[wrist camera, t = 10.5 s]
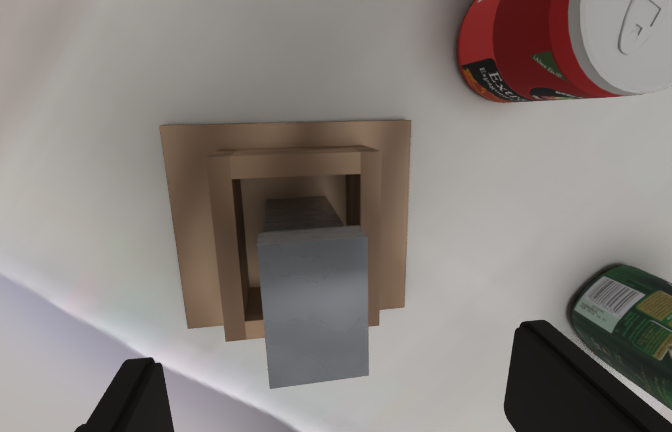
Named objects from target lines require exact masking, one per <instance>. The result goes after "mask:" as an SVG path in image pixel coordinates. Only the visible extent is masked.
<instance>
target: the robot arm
mask: <svg viewBox="0 0 672 432" xmlns="http://www.w3.org/2000/svg"><path fill="white" fill-rule="evenodd" d="M504 411H505V415H506V417H507V419H508V421H509V422H510V424H511V425H512V426H513V428H514V429H515V431H516V432H672V424H671V423H670V422H669V421H668V420H666V419H665V418H664V417H663V416H662V415H660V414H659V413H658V412H657V411H655V410H654V409H653V408H652V407H651V406H649V405H648V404H647V403H646V402H645V401H643V400H642V399H641V398H640V397H638V396H637V395H636V394H635V393H634V392H632V391H631V390H630V389H629V388H628V387H626V386H625V385H624V384H623V383H621V382H620V381H619V380H618V379H617V378H615V377H614V376H613V375H612V374H611V373H609V372H608V371H607V370H606V369H604V368H603V367H602V366H601V365H600V364H598V363H597V362H596V361H595V360H594V359H592V358H591V357H590V356H589V355H587V354H586V353H585V352H584V351H583V350H581V349H580V348H579V347H578V346H577V345H575V344H574V343H573V342H572V341H570V340H569V339H568V338H567V337H566V336H564V335H563V334H562V333H561V332H560V331H558V330H557V329H556V328H555V327H554V326H552V325H551V324H550V323H549V322H547V321H545V320H535V321H525V322H522V323H521V324H520V327H519V328H517V329H516V330H515V334H514V341H513V347H512V354H511V361H510V367H509V374H508V381H507V387H506V394H505V401H504ZM74 432H174V428H173V423H172V417H171V411H170V406H169V400H168V395H167V390H166V384H165V378H164V373H163V367H162V364H161V363H155V362H154V359H153V358H151V357H149V358H139V359H128V360H126V361H125V362H124V363H123V364H122V366H121V368H120V369H119V371H118V372H117V374H116V376H115V377H114V379H113V380H112V382H111V384H110V385H109V387H108V389H107V390H106V392H105V393H104V395H103V397H102V398H101V400H100V402H99V403H98V405H97V407H96V408H95V410H94V411H93V413H92V415H91V416H90V418H89V419H88V421H87V423H86V424H82V425H81V426H79V427H78V428H77V429H76V430H75V431H74Z"/></svg>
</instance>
